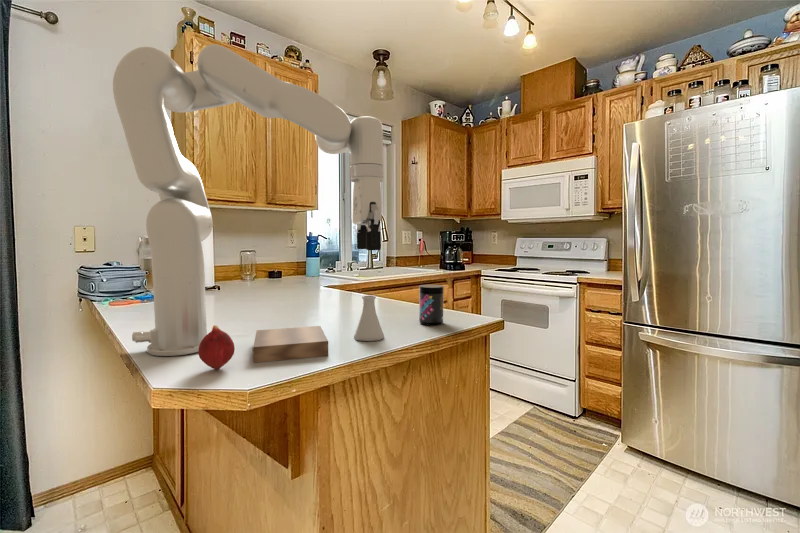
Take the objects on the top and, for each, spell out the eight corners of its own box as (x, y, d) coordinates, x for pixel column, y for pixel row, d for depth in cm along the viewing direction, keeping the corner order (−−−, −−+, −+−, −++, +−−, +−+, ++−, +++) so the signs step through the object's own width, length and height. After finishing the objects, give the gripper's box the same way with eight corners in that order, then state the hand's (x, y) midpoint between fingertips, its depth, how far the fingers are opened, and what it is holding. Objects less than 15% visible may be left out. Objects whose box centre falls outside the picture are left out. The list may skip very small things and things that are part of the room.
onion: (242, 366, 71) (240, 323, 70) (217, 376, 66) (216, 330, 65) (217, 362, 73) (215, 321, 72) (191, 372, 67) (189, 327, 67)
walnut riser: (253, 362, 73) (253, 347, 73) (256, 343, 86) (256, 330, 86) (328, 355, 77) (328, 340, 77) (320, 338, 91) (320, 325, 90)
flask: (383, 342, 87) (383, 298, 87) (351, 342, 88) (351, 298, 87) (385, 334, 95) (385, 294, 94) (355, 334, 95) (355, 293, 94)
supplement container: (418, 320, 110) (418, 284, 109) (441, 320, 110) (442, 284, 109) (419, 326, 103) (420, 287, 103) (444, 326, 103) (445, 287, 103)
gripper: (344, 179, 95) (345, 249, 97) (358, 167, 79) (360, 251, 80) (373, 180, 98) (374, 248, 99) (393, 169, 81) (394, 250, 83)
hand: (368, 249), depth 90 cm, fingers open, 9 cm apart
